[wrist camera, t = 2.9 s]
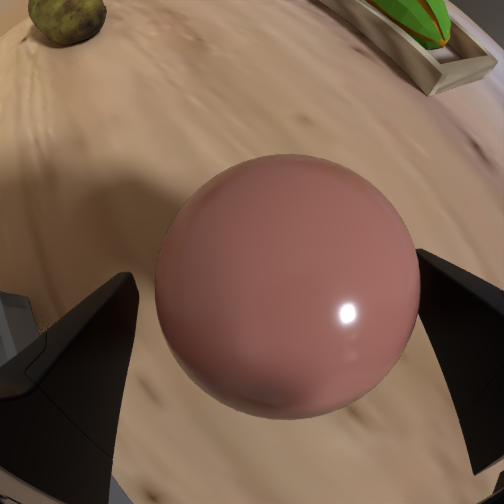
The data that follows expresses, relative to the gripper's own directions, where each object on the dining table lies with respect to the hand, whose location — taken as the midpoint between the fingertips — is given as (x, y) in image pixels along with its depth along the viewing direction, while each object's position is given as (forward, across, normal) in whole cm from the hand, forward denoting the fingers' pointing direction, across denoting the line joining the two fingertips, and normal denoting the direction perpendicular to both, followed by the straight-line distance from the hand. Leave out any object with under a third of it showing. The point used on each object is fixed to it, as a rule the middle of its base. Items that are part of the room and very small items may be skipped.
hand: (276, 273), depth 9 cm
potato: (+27, +19, -16) cm, 36 cm away
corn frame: (+25, -15, -15) cm, 33 cm away
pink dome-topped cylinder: (+5, 0, +6) cm, 8 cm away
